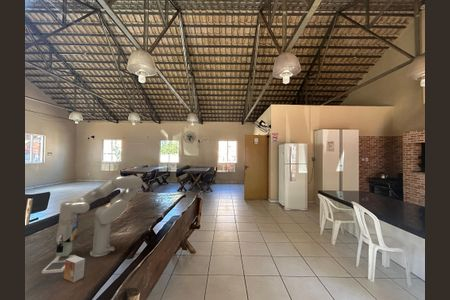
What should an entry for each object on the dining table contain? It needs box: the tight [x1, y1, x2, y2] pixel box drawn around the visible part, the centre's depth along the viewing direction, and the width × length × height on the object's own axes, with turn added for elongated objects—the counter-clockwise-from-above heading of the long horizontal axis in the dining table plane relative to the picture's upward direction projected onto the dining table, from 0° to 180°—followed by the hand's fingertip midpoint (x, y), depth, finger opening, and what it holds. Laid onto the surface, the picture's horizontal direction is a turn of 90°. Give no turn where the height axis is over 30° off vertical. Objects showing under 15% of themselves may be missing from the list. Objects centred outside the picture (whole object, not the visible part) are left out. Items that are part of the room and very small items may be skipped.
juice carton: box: [60, 213, 80, 243], centre depth 160 cm, size 12×8×24 cm, turn 11°
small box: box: [63, 255, 86, 283], centre depth 115 cm, size 8×6×10 cm
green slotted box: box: [55, 241, 73, 257], centre depth 131 cm, size 6×6×6 cm
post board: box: [41, 254, 77, 275], centre depth 127 cm, size 18×10×10 cm, turn 16°
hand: (63, 248), depth 131 cm, fingers open, 9 cm apart
